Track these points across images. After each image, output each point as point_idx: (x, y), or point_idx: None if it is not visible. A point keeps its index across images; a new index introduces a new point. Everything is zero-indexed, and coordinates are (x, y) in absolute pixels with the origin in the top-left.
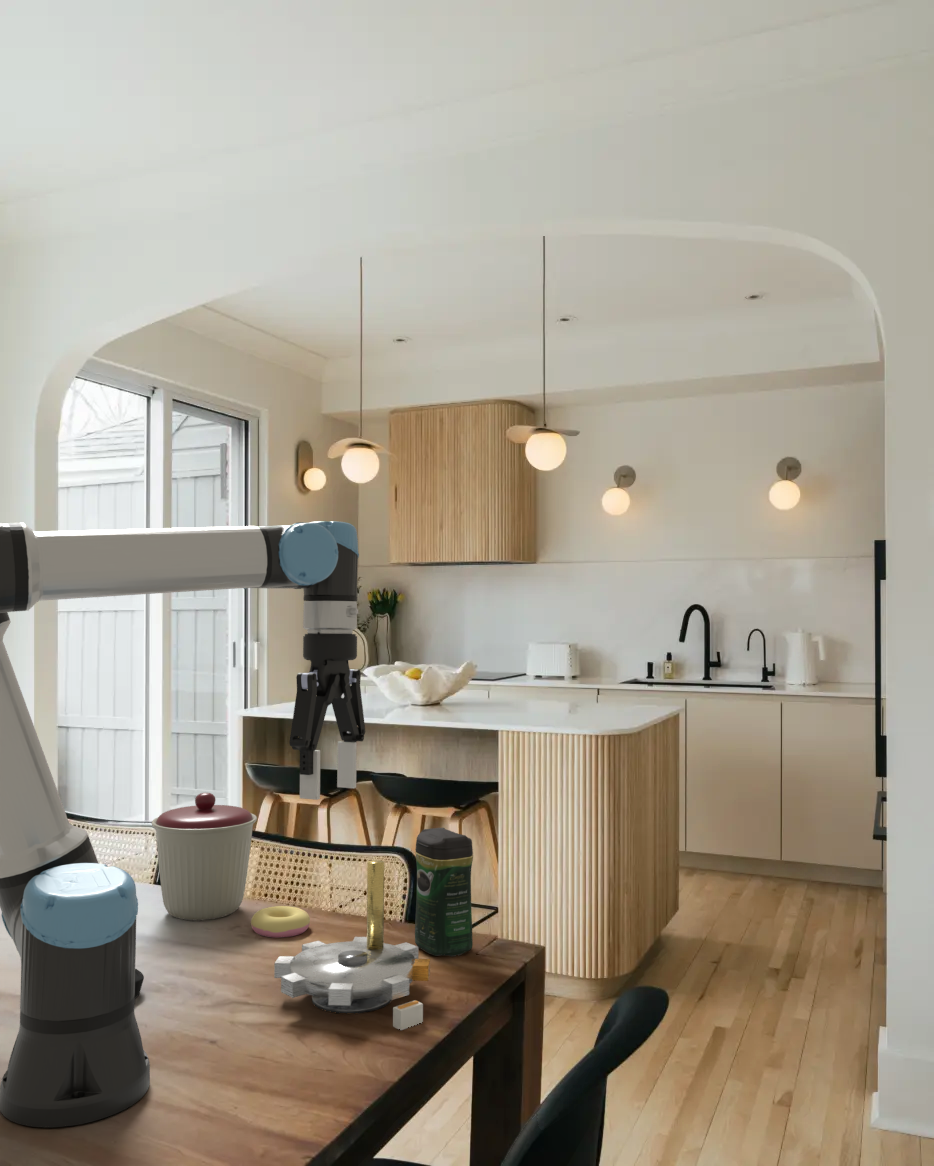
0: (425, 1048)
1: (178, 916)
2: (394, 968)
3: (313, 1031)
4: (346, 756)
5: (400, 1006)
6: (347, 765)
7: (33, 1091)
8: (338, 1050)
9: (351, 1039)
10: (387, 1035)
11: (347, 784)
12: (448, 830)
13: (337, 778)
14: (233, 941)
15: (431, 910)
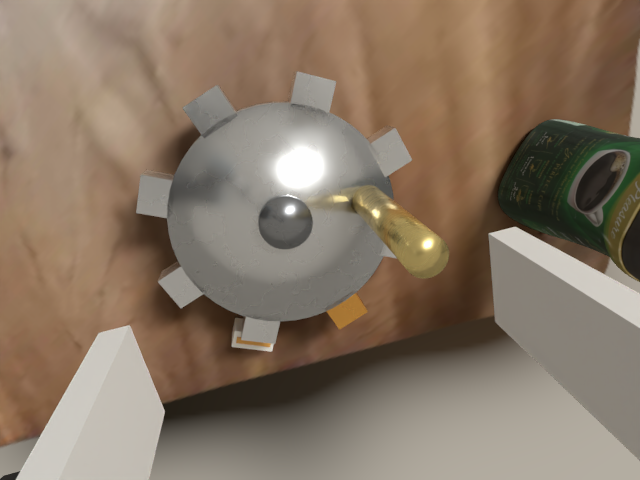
0: (210, 386)
1: None
2: (298, 298)
3: (147, 245)
4: (619, 384)
5: (239, 341)
6: (569, 356)
7: None
8: (128, 314)
9: (166, 303)
10: (208, 329)
11: (502, 298)
12: None
13: (515, 250)
14: None
15: (544, 202)
